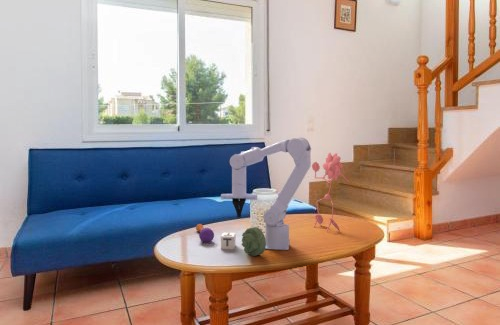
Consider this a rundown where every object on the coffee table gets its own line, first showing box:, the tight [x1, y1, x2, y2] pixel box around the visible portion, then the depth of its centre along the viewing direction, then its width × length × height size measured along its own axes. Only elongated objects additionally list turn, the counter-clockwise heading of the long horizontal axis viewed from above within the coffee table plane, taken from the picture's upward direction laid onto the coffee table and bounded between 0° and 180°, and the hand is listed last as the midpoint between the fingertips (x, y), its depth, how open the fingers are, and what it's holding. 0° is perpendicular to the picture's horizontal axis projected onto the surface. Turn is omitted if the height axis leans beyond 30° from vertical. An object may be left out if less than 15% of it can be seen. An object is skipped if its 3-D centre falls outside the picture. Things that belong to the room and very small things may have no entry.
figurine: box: [311, 152, 351, 236], centre depth 173 cm, size 15×26×35 cm, turn 28°
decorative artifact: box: [241, 226, 266, 257], centre depth 136 cm, size 10×7×10 cm
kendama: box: [195, 223, 215, 244], centre depth 159 cm, size 6×6×20 cm
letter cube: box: [220, 232, 237, 250], centre depth 146 cm, size 5×5×5 cm
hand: (239, 216), depth 152 cm, fingers closed
